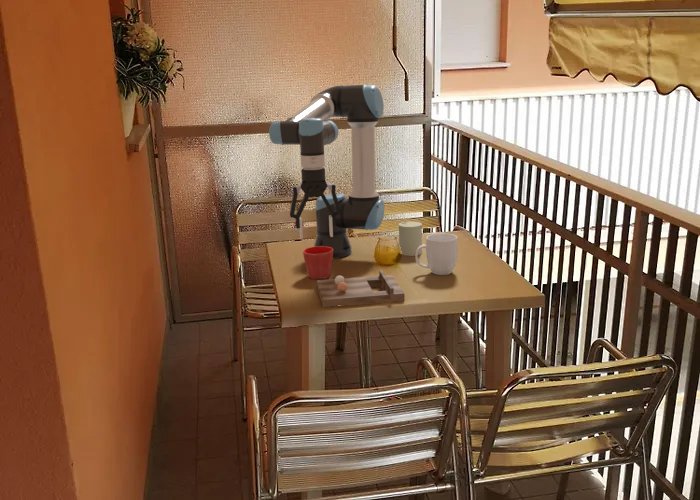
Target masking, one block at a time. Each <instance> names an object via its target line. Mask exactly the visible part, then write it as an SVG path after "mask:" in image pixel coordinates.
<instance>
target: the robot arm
mask: <svg viewBox="0 0 700 500" xmlns="http://www.w3.org/2000/svg"><path fill="white" fill-rule="evenodd" d="M384 108H385V107H384V98H383V95H382V92H381V90H380V88H379V87H378V86H376V85H373V84H372V85H371V84H358V85H357V84H353V85H352V84H350V85H347V84H346V85H342V84H341V85H334V86H332V87H329V88H326V89H324V90H321V91H320V92H318V93H316V95H314V96H313V97H312V98H311V99H310V101H309V103H308V104H307V105H305V106H304V107H302V108H301V109H299V110H298V111H296V113H294V114H293V115H291V116H290V117H288V118H287V119H286V120H284V121H281V120H279V121H273V122H272V123H271V124H270V126H269V130H268V134H269V135H268V136H269V139H270V142H271V143H272V144H275V145H282V146H283V145H284V146H285V145H287V146H288V145H289V146H290V145H293V146H295V145H297V146H299V148H300V149H299V150H300V151H299V152H300V168H301V170H300V171H301V184H300V185H297V186H296V185H293V186H292V187H291V188H292V199H291V204H290V210H289V216H290V218H293V219H295V227H296V229H299V239H300V240H303V239H304V235H303V233H304V232H303V217H301V215H302V213H303V211H304V209H305V206H306V204H307V202H308V200H309V199H310V198H311V199H313V198H317V199H316V201H315V209H314V211H315V220H316V221H315V223H316V236H315V241H314V245H313V247H316V246H326V247H331V248H333V259H338V258H344V257H347V256H349V255H351V254H352V253H353V252H352V245H351V242H350V239H349V237H348V234H347V229H350V230H365V231H371V230H372V231H374V230H377V229H379V228H380V226H381V225H382V222H383V220H384V219H383V218H384V215H385V202H384V200H383V199H380V194H379V193H378V192H377V190H376V167H375V156H376V155H375V152H376V151H375V146H376V145H375V127H376V125H377V124H378V123H379V119H380V118H381V117H382V116H383V114H384ZM330 118H346V122H347V124H348V126H350V128H351V129H350V131H351V168H352V169H351V173H352V177H351V178H352V179H351V181H352V191H351V192H350V193H349V194H348V198H346V194H345V193H336V189H337V188H336V184H335V183H327V182H326V169H325V168H324V167H325V166H326V165H325V163H326V162H325V146H327V145H331V144H332V143H334V141H336V140H337V139H338V136H339V132H340V131H339V127H338V126H337V124H336V123H335V122H334V121H332V120H329V119H330ZM326 189H328V191H329V192H330V194H327V195H325V191H326ZM301 191H302V192H303V193H304V194H303V197H302V199H301V202H300V205H299V207H298V208H297V201H298V194H299V193H300V192H301ZM296 208H297V211H296ZM295 211H296V213H295Z"/></svg>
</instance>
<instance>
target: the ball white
mask: <svg viewBox="0 0 700 500" xmlns="http://www.w3.org/2000/svg"><path fill="white" fill-rule="evenodd" d="M344 278H345V277H344V276H342V275H336V276H335V278H334V279H335V283H336V284H337V285H338V284H339V283H340V282H344Z"/></svg>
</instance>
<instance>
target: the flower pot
mask: <svg viewBox="0 0 700 500" xmlns="http://www.w3.org/2000/svg"><path fill="white" fill-rule="evenodd" d="M302 254H303V259H304V263H305V268H306V270H307V274H308V277H309V279H313V280H322V279H323V280H324V279H327V278H329V277H331V272H332V266H333V259H334V258H333V248H331V247H326V246H316V247H314V246H311V247H307V248H304V249H303V251H302Z"/></svg>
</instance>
